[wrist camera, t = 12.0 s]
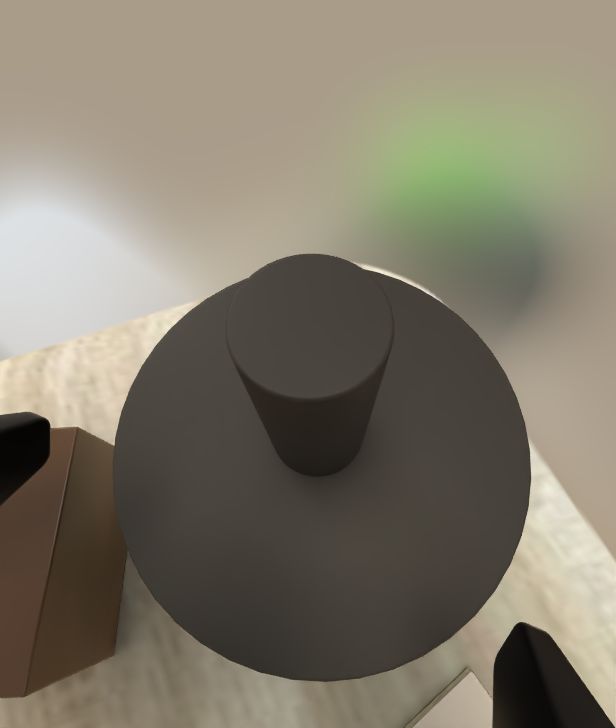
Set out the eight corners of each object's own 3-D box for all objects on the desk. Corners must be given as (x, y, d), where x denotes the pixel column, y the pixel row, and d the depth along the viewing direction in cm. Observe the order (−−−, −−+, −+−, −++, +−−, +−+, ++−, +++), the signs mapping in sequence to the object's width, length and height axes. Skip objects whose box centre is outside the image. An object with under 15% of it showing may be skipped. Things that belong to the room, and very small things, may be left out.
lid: (550, 711, 9) (934, 975, 3) (61, 641, 10) (-296, 754, 4) (504, 284, 14) (631, 88, 8) (173, 263, 15) (75, 75, 9)
